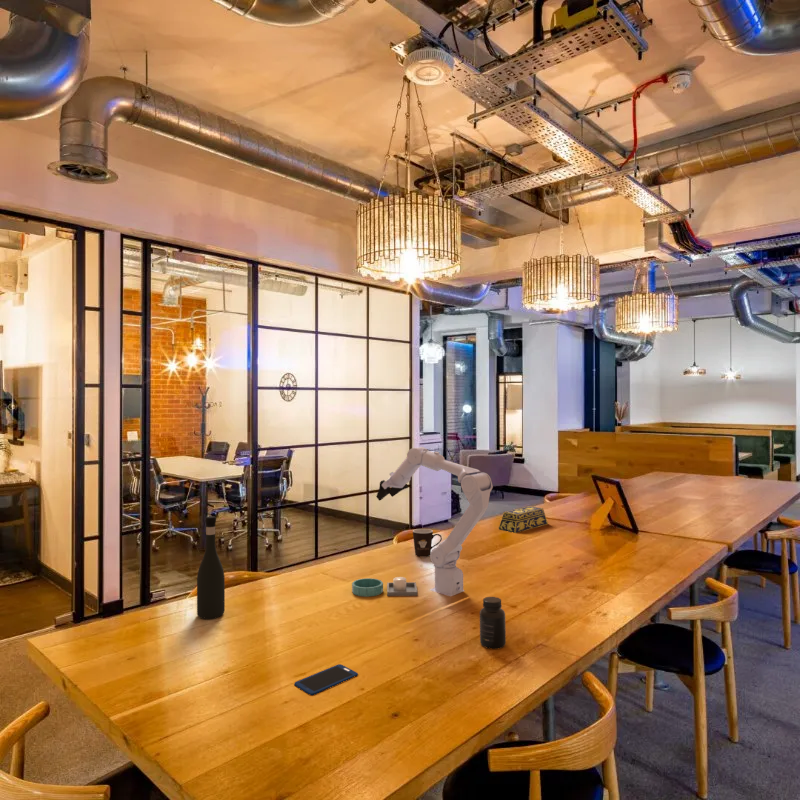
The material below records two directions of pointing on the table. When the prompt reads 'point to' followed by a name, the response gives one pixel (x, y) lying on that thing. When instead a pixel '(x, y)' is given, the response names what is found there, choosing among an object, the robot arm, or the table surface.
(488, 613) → the supplement bottle
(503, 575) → the table surface
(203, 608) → the wine bottle
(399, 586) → the stone
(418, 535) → the coffee mug
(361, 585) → the bowl
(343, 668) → the cell phone
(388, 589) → the parts tray
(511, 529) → the decorative box
